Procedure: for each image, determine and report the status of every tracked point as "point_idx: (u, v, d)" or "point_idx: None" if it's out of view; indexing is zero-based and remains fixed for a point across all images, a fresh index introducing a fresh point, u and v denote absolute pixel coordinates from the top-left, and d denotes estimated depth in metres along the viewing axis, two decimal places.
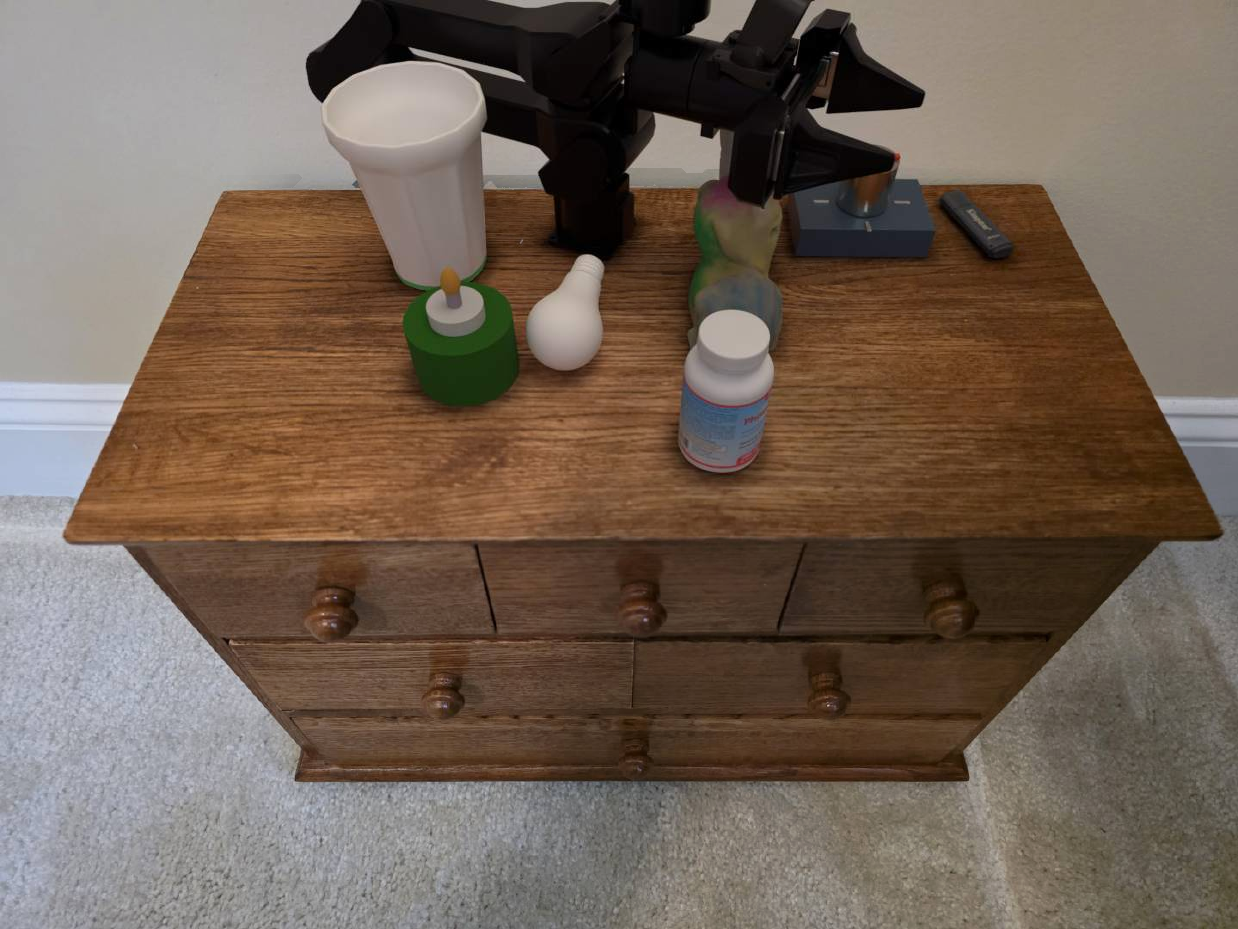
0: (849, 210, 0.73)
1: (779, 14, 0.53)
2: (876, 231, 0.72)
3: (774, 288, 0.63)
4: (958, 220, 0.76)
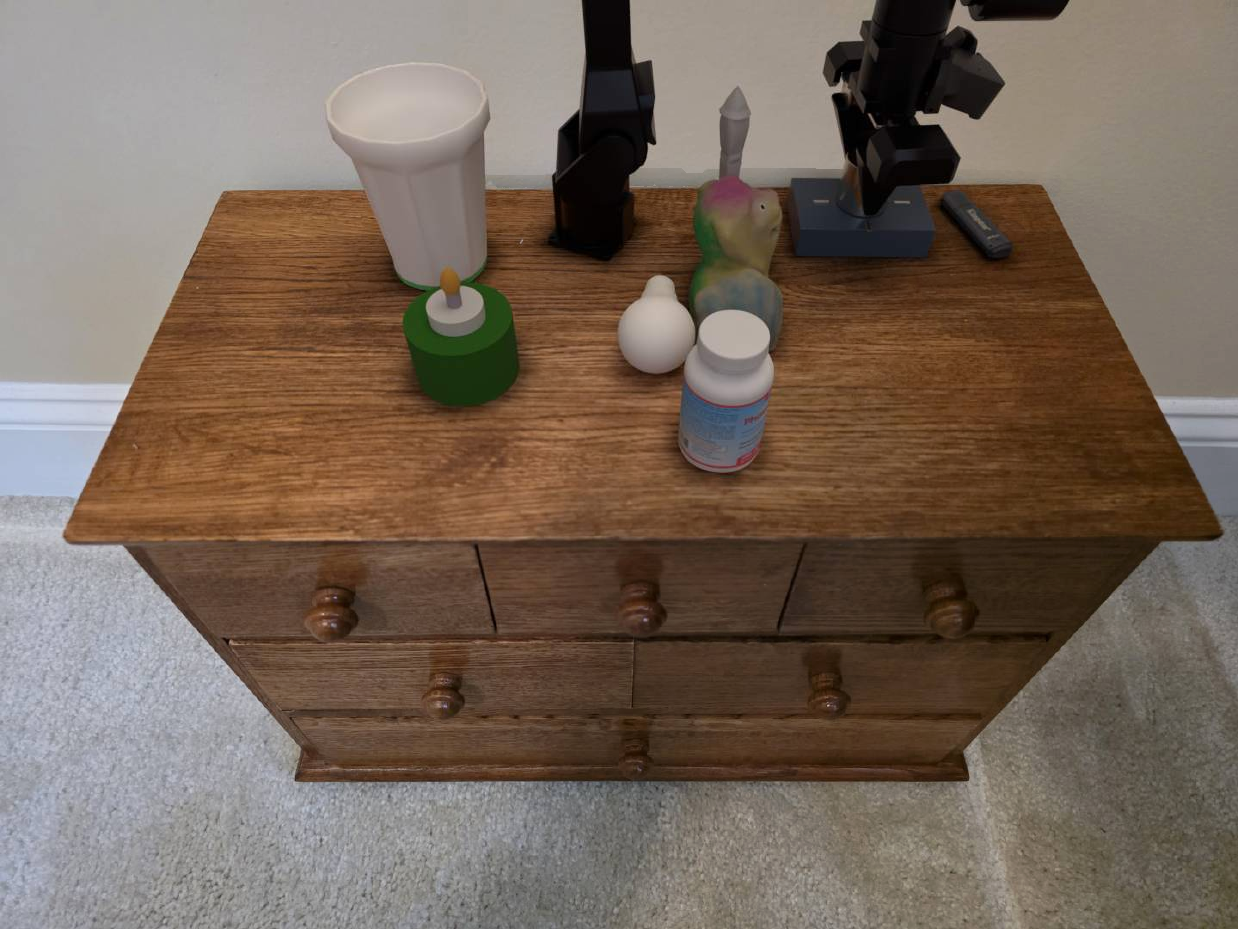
0: (849, 210, 0.73)
1: (981, 103, 0.65)
2: (876, 231, 0.72)
3: (774, 288, 0.63)
4: (958, 220, 0.76)
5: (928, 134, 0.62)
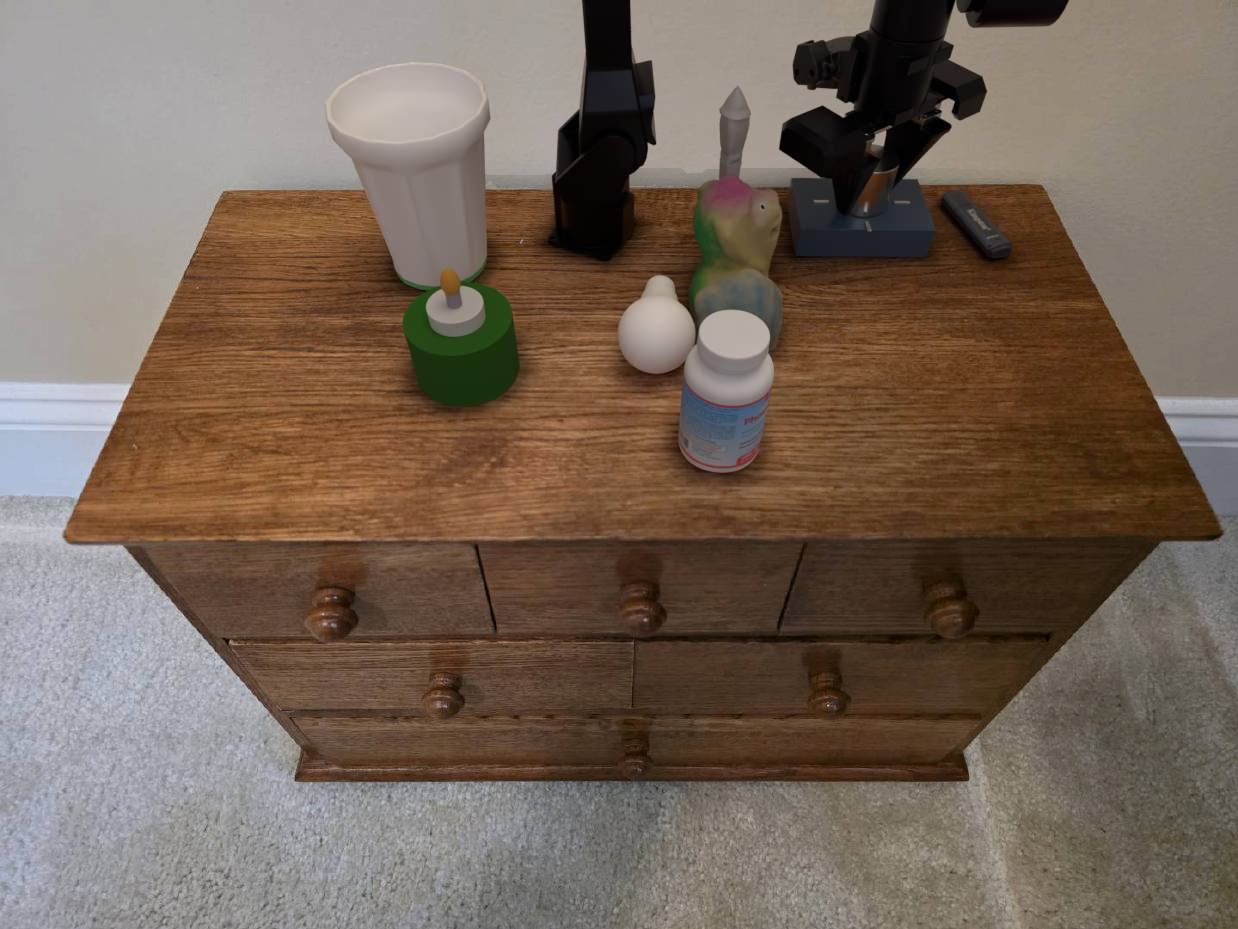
0: None
1: None
2: (876, 231, 0.72)
3: (774, 288, 0.63)
4: (958, 220, 0.76)
5: (939, 68, 0.69)
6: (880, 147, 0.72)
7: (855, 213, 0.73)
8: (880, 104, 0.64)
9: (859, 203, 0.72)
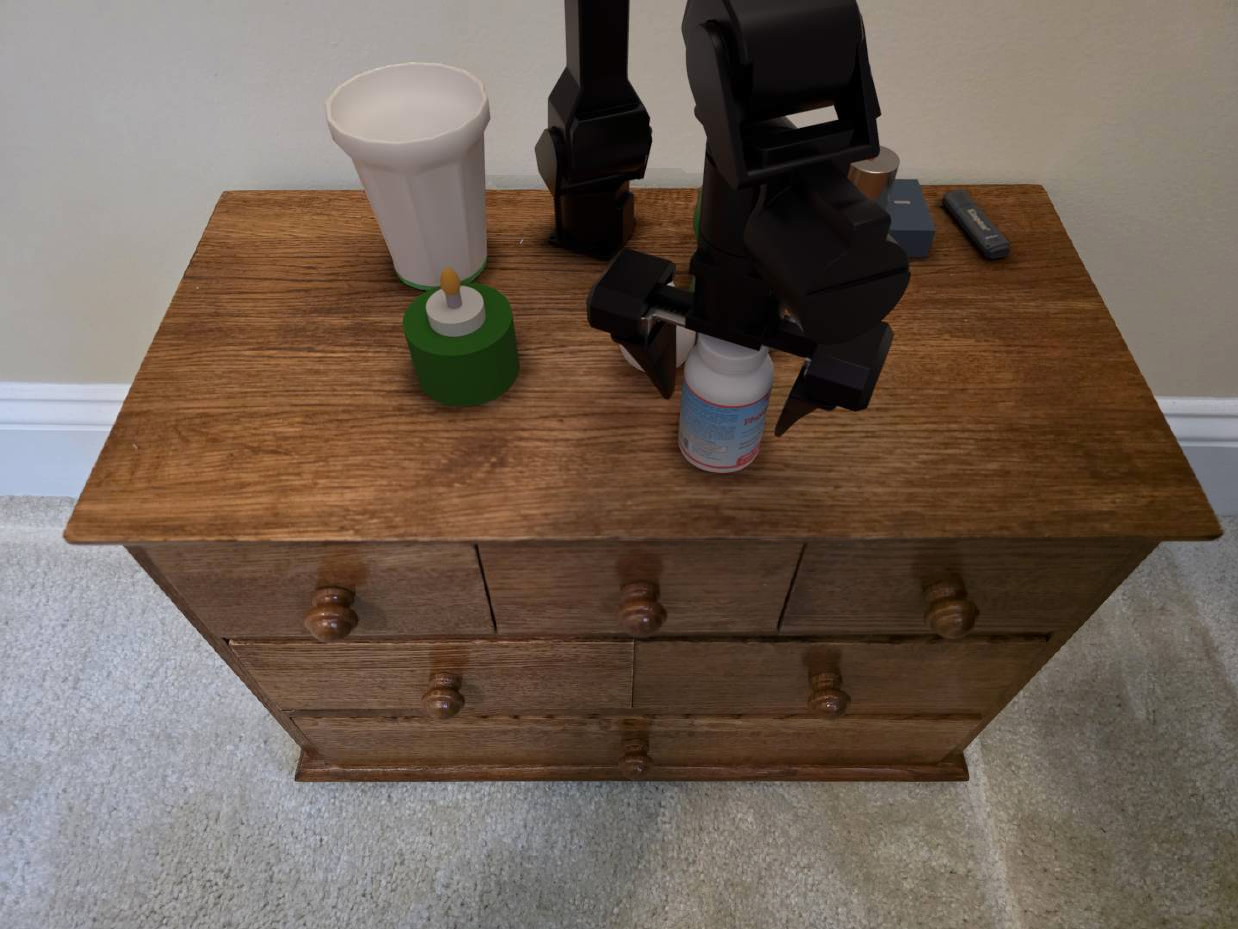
0: None
1: None
2: None
3: None
4: (958, 219, 0.77)
5: None
6: (880, 147, 0.72)
7: None
8: (693, 296, 0.49)
9: None
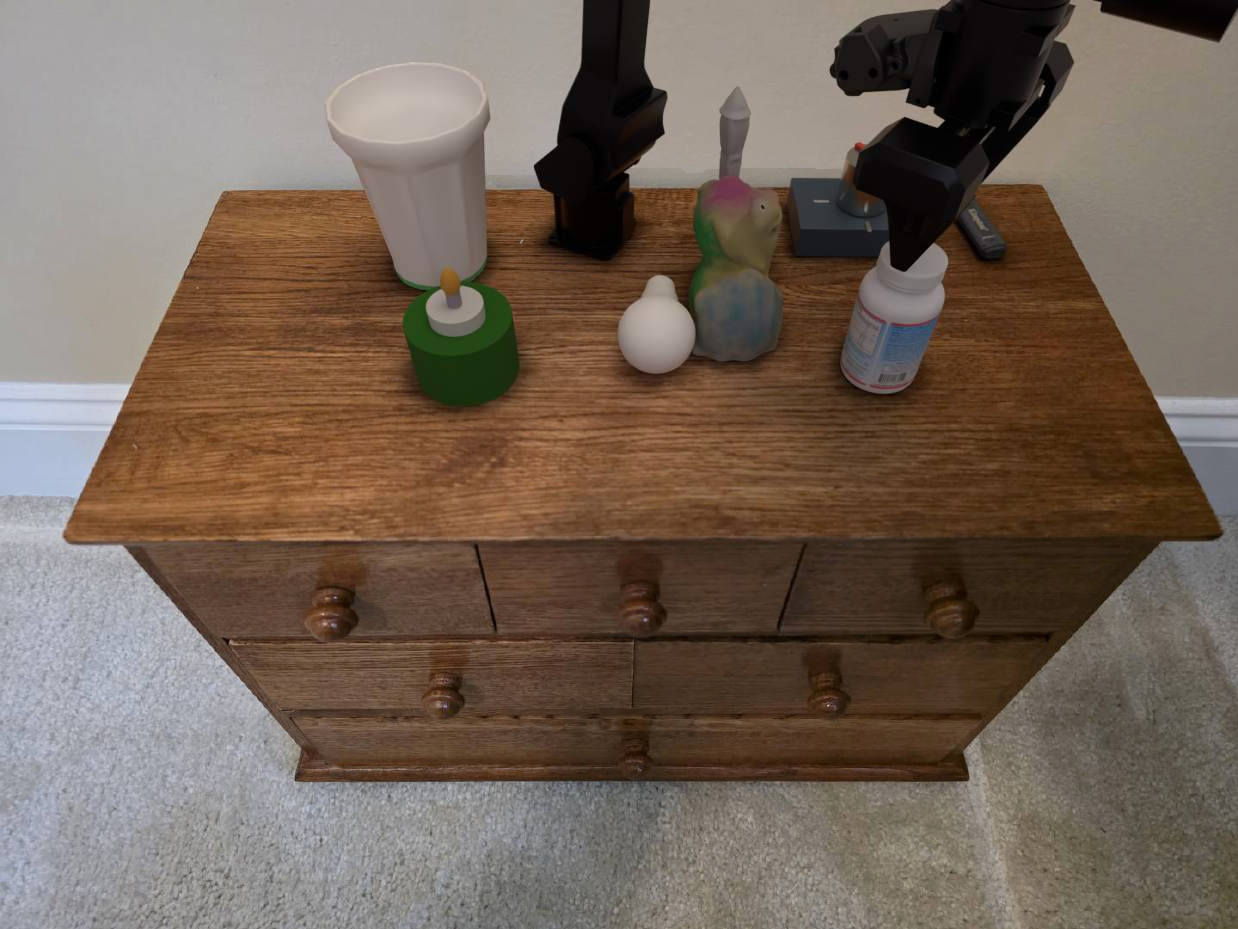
0: None
1: None
2: (876, 231, 0.72)
3: (774, 288, 0.63)
4: (958, 219, 0.77)
5: None
6: None
7: (855, 213, 0.73)
8: (987, 103, 0.45)
9: (859, 203, 0.72)
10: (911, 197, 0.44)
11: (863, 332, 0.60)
